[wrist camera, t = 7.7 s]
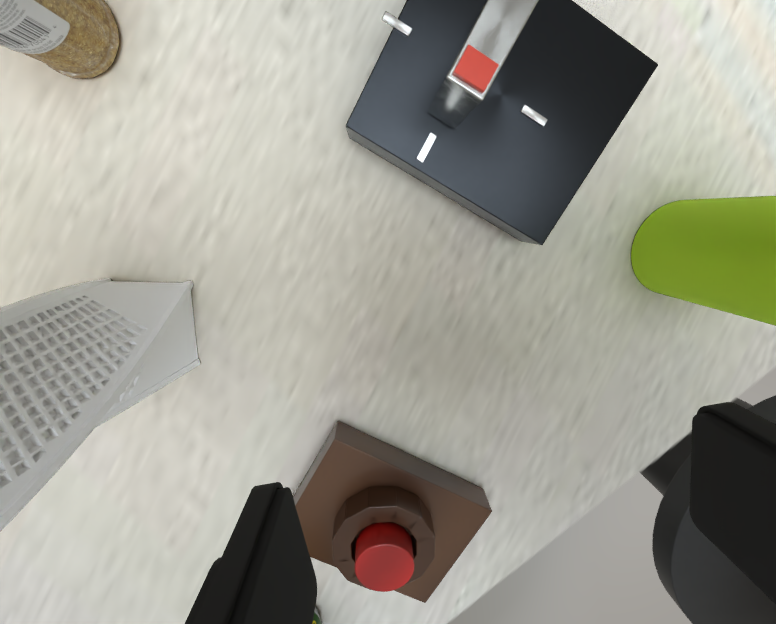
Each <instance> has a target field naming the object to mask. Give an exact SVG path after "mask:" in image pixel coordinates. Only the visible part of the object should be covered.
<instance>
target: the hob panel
mask: <svg viewBox="0 0 776 624" xmlns="http://www.w3.org/2000/svg"><path fill="white" fill-rule="evenodd" d="M485 2H486V0H407V1H406V3H405V5H404V7H403V9H402V11H401V13H400V15H399V18H398V19H397V18H396V17H394V16H393V15H391V14H390V13H388V12H387V11H386V12H385V14H384V16H383V18H382V20H383V21H384V22H386V23H387V24H389V25H390V26H392V27H393V30H392V32H391V34H390V36H389V38H388V40H387V42H386V44H385V46H384V48H383V50H382V52H381V54H380V56H379V58H378V60H377V62H376V64H375V67H374V69H373V71H372V73H371V75H370V77H369V79H368V81H367V83H366V85H365V87H364V89H363V91H362V93H361V95H360V97H359V99H358V101H357V103H356V105H355V107H354V109H353V111H352V113H351V116H350V118H349V120H348V122H347V124H346V128H347V132H348V135H349V138H351V139H352V140H354V141H356V142H357V143H359V144H361V145H362V146H364V147H365V148H367V149H369V150H370V151H372V152H374V153H375V154H377V155H379V156H380V157H382V158H384V159H385V160H387V161H389V162H390V163H392V164H394V165H395V166H397V167H399V168H400V169H402V170H404V171H405V172H407V173H409V174H410V175H412V176H414V177H415V178H417V179H419V180H420V181H422V182H424V183H425V184H427V185H429V186H430V187H432V188H434V189H435V190H437V191H439V192H440V193H442V194H444V195H445V196H447V197H449V198H450V199H452V200H454V201H455V202H457V203H458V204H460V205H462V206H463V207H465V208H467V209H468V210H470V211H472V212H473V213H475V214H477V215H478V216H480V217H482V218H483V219H485V220H487V221H488V222H490V223H492V224H493V225H495V226H497V227H498V228H500V229H502V230H503V231H505V232H507V233H508V234H510V235H512V236H513V237H515V238H517V239H518V240H520V241H523V242H528V243H534V244H539V245H543V243H544V242H545V240H546V239H547V237H548V235H549V234H550V232H551V231H552V229H553V228H554V226H555V225H556V223H557V221H558V220H559V218H560V217H561V215H562V214H563V212H564V211H565V209H566V207H567V206H568V204H569V203H570V201H571V200H572V198H573V197H574V195H575V193H576V192H577V190H578V189H579V187H580V186H581V184H582V183H583V181H584V179H585V178H586V176H587V175H588V173H589V172H590V170H591V169H592V167H593V165H594V164H595V162H596V161H597V159H598V158H599V156H600V155H601V153H602V151H603V150H604V148H605V147H606V145H607V144H608V142H609V141H610V139H611V137H612V136H613V134H614V133H615V131H616V130H617V128H618V127H619V125H620V123H621V122H622V120H623V119H624V117H625V116H626V114H627V113H628V111H629V109H630V108H631V106H632V105H633V103H634V102H635V100H636V99H637V97H638V95H639V94H640V92H641V91H642V89H643V88H644V86H645V85H646V83H647V81H648V80H649V78H650V77H651V75H652V74H653V72H654V70H655V69H656V67H657V66H658V64H657V63H656V62H654V61H653V60H652V59H650V58H649V57H647V56H646V55H645V54H643V53H642V52H641V51H639V50H638V49H637V48H635V47H634V46H633V45H631V44H630V43H629V42H627V41H626V40H625V39H623V38H622V37H621V36H619V35H618V34H616V33H615V32H614V31H612V30H611V29H610V28H608V27H607V26H606V25H604V24H603V23H602V22H600V21H599V20H598V19H596V18H595V17H594V16H592V15H591V14H590V13H588V12H587V11H586V10H584V9H583V8H581V7H580V6H579V5H577V4H576V3H575V2H573V1H572V0H539V1H538V3H537V4H536V6H535V8H534V10H533V12H532V13H531V15H530V17H529V19H528V21H527V22H526V24H525V26H524V28H523V30H522V31H521V33H520V35H519V37H518V39H517V40H516V42H515V44H514V46H513V48H512V49H511V51H510V53H509V55H508V57H507V58H506V60H505V62H504V64H503V66H502V67H501V69H500V71H499V73H498V74H497V76H496V78H495V80H494V82H493V83H492V85H491V87H490V89H489V91H488V92H487V94H486V96H485V98H484V100H483V101H482V102H481V103H480V104H479V105H478V106H477V107H476V108H475V109H474V110H473V111H472V112H471V113H470V114H469V115H468V116H467V117H466V118H465V119H464V120H463V121H462V122H461V123H460V124H459V125H458V126H457V127H456V128H455V129H453V128H451V127H450V126H448V125H447V124H445V123H443V122H442V121H440V120H439V119H437V118H436V117H434V116H432V115H431V114H429V113H428V110H429V108H430V106H431V104H432V102H433V100H434V98H435V96H436V95H437V93H438V91H439V89H440V87H441V85H442V83H443V81H444V79H445V78H446V76H447V74H448V72H449V70H450V68H451V66H452V64H453V62H454V61H455V59H456V57H457V55H458V53H459V51H460V49H461V47H462V45H463V43H464V42H465V40H466V38H467V36H468V34H469V32H470V30H471V28H472V26H473V25H474V23H475V21H476V19H477V17H478V15H479V13H480V11H481V9H482V8H483V6H484V4H485Z"/></svg>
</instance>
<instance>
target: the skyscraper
mask: <svg viewBox="0 0 776 624" xmlns="http://www.w3.org/2000/svg"><path fill="white" fill-rule="evenodd" d="M192 287H193V282H192V281H185V283H179V282H121V281H111V279H110V278H104V279H99V280H94V281H89V282H84V283H79V284H75V285H71V286H67V287H63V288H59V289H56V290H52V291H49V292H46V293H42V294H39V295H36V296H33V297H30V298H27V299H24V300H21V301H18V302H16V303H13V304H10V305H7V306H4V307H1V308H0V531H1V530H2V529H3V528H4V527H5V526H6V525H7V524H8V523H9V522H10V521H11V520H12V519H13V518H14V517H15V516H16V515H17V514H18V513H19V512H20V511H21V510H22V509H23V508H24V507H25V505H26V504H27V503H28V502H29V501H30V500H31V499H32V498H33V497H34V496H35V495H36V494H37V493H38V492H39V491H40V489H41V488H42V487H43V486H44V485H45V484H46V483H47V482H48V481H49V480H50V479H51V478H52V477H53V476H54V475H55V473H56V472H57V471H58V470H59V469H60V468H61V467H62V465H63V464H64V463H65V462H66V461H67V460H68V459H69V457H70V456H71V455H72V454H73V453H74V452H75V450H76V449H77V448H78V447H79V446H80V445H81V443H82V442H83V441H84V440H85V439H86V438H87V437H88V435H89V434H90V433H91V432H92V431H93V429H94V428H96V427H97V426H99V425H101V424H102V423H104V422H106V421H108V420H109V419H111V418H113V417H114V416H116V415H118V414H119V413H121V412H123V411H125V410H126V409H128V408H130V407H131V406H133V405H134V404H136V403H138V402H139V401H141V400H143V399H144V398H146V397H148V396H149V395H151V394H153V393H154V392H156V391H158V390H159V389H161V388H162V387H164V386H166V385H167V384H169V383H171V382H172V381H174V380H176V379H177V378H179V377H180V376H182V375H184V374H185V373H187V372H189V371H190V370H192V369H193V368H195V367H197V366H198V365H200V361H199V359H198V353H197V344H196V334H195V325H194V316H193V306H192V297H191V289H192Z"/></svg>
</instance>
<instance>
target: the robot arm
mask: <svg viewBox="0 0 776 624" xmlns="http://www.w3.org/2000/svg"><path fill="white" fill-rule="evenodd" d="M690 515H691V518H692V520H693V522H694V524H695V525H696V527H697V528H698V529H699V530H700V531H701V532H702V533H703V534H704V535H705V536H706V537H707V538H708V539H709V540H710V541H711V542H712V543H713V544H714V545H715V546H716V547H717V548H718V549H719V550H720V551H721V552H722V553H723V554H725V555H726V556H727V557H728V558H729V559H730V560H731V561H732V562H733V563H734V564H735V565H736V566H737V567H738V568H739V569H740V570H741V571H742V572H743V573H744V574H745V575H746V576H747V577H748V578H749V579H750V580H751V581H752V582H753V583H754V584H755V585H756V586H758V587H759V588H760V589H761V590H762V591H763V592H764V593H765V594H766V595H767V596H768V597H769V598H770V599H771V600H772V601H773V602H774V603H775V604H776V425H775V424H773V423H772V422H770V421H768V420H766V419H764V418H762V417H760V416H758V415H756V414H754V413H752V412H751V411H749V410H747V409H745V408H743V407H741V406H739V405H737V404H734V403H732V402H726V403H720V404H714V405H709V406H703V407H701V408H700V409H699V410H698V412H697V415H695V416H694V417H693V421H692V450H691V483H690ZM316 597H317V582H316V576H315V572H314V569H313V565H312V562H311V559H310V555H309V552H308V548H307V545H306V541H305V538H304V534H303V531H302V527H301V524H300V520H299V517H298V513H297V510H296V506H295V503H294V499H293V496H292V493H291V490H290V488H288V487H286V488H283V486H282V484H281V483H279V482H276V483H270V484H265V485H259V486H255V487H253V489H252V490H251V493H250V495H249V497H248V499H247V502H246V504H245V506H244V508H243V511H242V513H241V515H240V517H239V520H238V522H237V524H236V526H235V529H234V531H233V533H232V535H231V538H230V540H229V542H228V544H227V547H226V549H225V551H224V553H223V556H222V557H221V558H218V559H217V560H216V561H215V562H214V563H213V565H212V567H211V568H210V570H209V572H208V575H207V577H206V579H205V581H204V583H203V585H202V588H201V590H200V592H199V594H198V596H197V598H196V601H195V603H194V605H193V607H192V609H191V611H190V614H189V616H188V618H187V620H186V622H185V624H313V617H314V610H315V604H316Z"/></svg>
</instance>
